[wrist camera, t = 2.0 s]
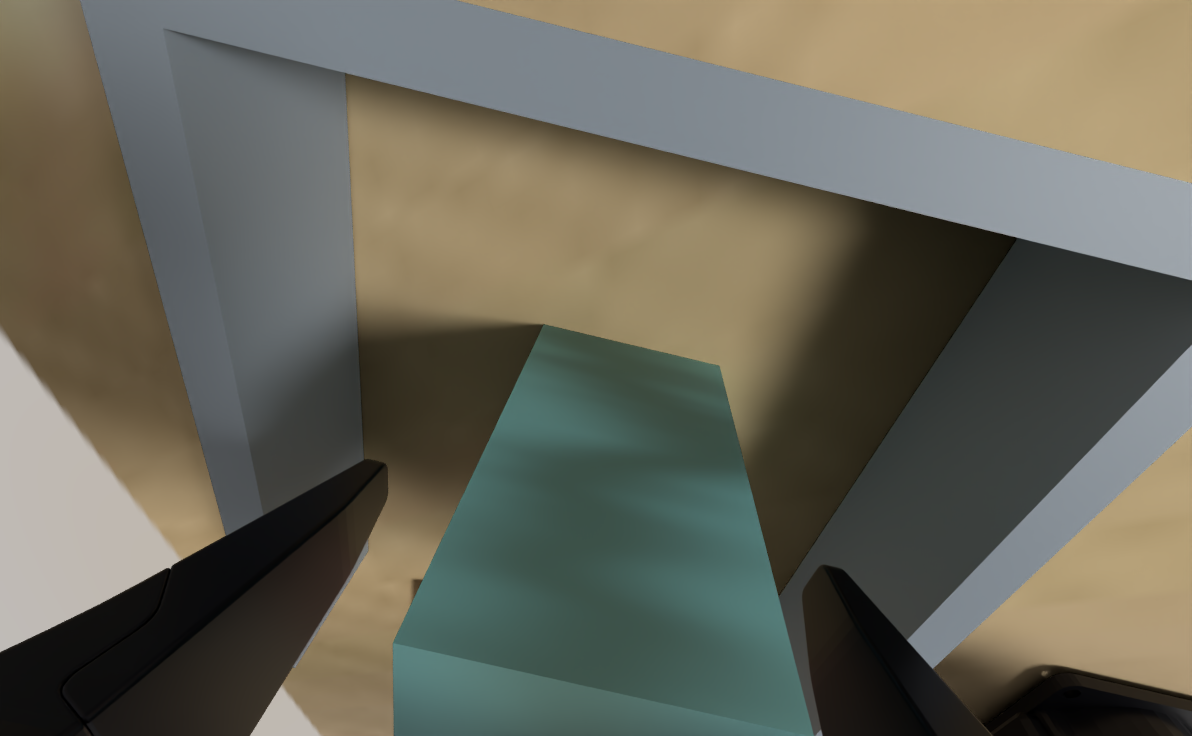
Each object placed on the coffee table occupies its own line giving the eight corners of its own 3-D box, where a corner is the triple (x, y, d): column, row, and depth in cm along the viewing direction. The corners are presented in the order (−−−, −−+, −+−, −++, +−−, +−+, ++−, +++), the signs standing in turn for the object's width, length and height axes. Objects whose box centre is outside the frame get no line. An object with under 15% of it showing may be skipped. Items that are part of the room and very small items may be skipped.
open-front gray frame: (1113, 182, 9) (1398, 234, 6) (778, 644, 17) (810, 782, 14) (287, -22, 9) (53, -101, 5) (340, 544, 17) (260, 659, 13)
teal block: (719, 365, 12) (813, 737, 5) (668, 493, 14) (684, 871, 7) (544, 324, 12) (393, 642, 5) (520, 459, 14) (394, 807, 7)
